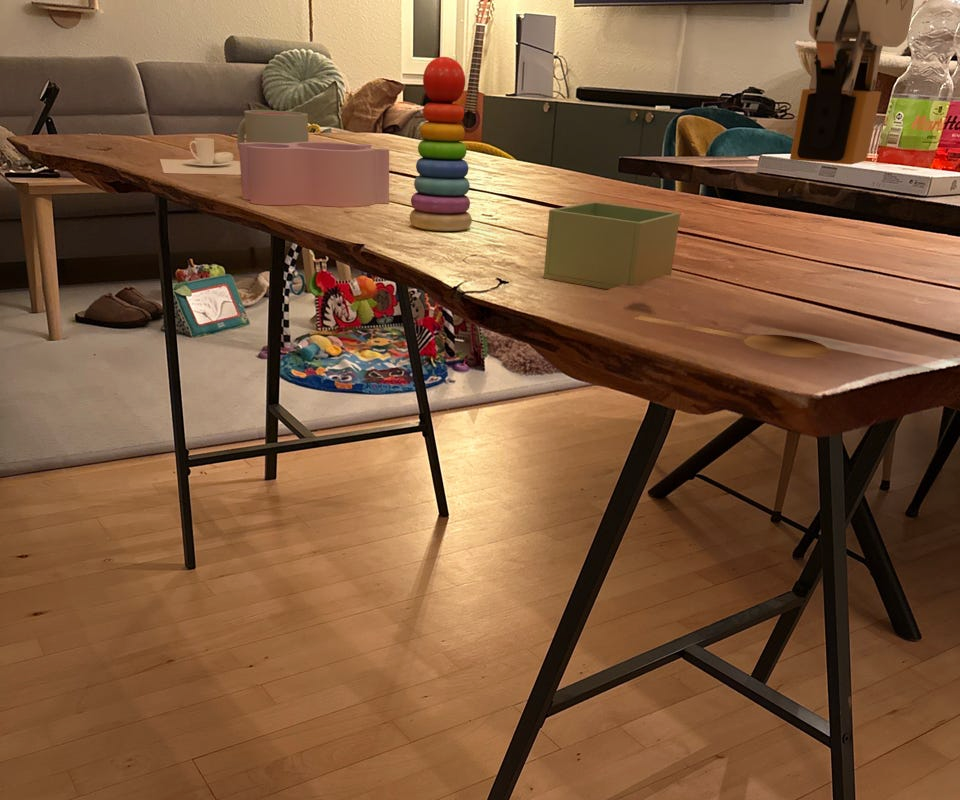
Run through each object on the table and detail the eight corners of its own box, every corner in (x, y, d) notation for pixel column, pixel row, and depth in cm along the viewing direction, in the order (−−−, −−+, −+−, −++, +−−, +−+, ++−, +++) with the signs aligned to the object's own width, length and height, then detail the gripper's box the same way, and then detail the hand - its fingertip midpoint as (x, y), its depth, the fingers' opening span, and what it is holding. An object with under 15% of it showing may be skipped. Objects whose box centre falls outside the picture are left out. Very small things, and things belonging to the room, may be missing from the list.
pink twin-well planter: (260, 207, 129) (257, 150, 125) (233, 194, 138) (229, 140, 134) (397, 206, 138) (397, 151, 134) (363, 193, 147) (363, 142, 143)
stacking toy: (484, 230, 124) (493, 59, 114) (437, 234, 119) (442, 57, 109) (443, 220, 128) (448, 56, 118) (396, 224, 123) (398, 53, 114)
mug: (322, 188, 149) (320, 115, 144) (276, 192, 143) (272, 115, 138) (264, 178, 156) (260, 107, 151) (217, 181, 150) (212, 107, 145)
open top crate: (670, 279, 103) (680, 213, 99) (631, 293, 95) (641, 223, 92) (586, 265, 107) (593, 201, 103) (543, 278, 100) (549, 209, 96)
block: (866, 161, 72) (881, 91, 69) (852, 164, 68) (867, 92, 66) (806, 156, 74) (819, 88, 71) (789, 159, 70) (802, 88, 68)
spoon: (837, 354, 79) (839, 344, 79) (814, 372, 74) (816, 361, 74) (651, 319, 86) (652, 310, 86) (619, 333, 81) (620, 323, 81)
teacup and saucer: (232, 163, 171) (230, 137, 168) (237, 168, 164) (235, 142, 162) (181, 162, 168) (178, 135, 166) (183, 167, 162) (180, 140, 160)
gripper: (930, -194, 54) (853, 169, 63) (975, -142, 66) (904, 155, 76) (797, -184, 57) (742, 160, 66) (863, -136, 69) (809, 147, 79)
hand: (829, 154), depth 71 cm, fingers closed on block, 4 cm apart
